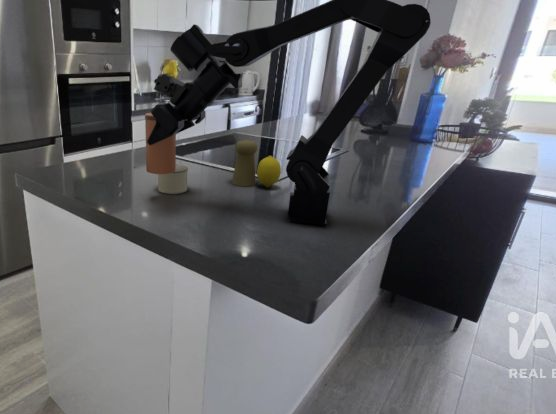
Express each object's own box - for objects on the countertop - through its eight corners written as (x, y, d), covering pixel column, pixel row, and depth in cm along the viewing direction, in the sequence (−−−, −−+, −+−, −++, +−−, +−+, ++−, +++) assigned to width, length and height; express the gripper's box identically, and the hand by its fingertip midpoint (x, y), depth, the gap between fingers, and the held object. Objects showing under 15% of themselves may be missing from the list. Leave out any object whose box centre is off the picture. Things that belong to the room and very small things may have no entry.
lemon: (255, 189, 94) (258, 157, 91) (256, 183, 99) (258, 152, 96) (279, 191, 92) (282, 158, 89) (278, 184, 97) (282, 153, 94)
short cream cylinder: (190, 186, 97) (191, 165, 95) (182, 195, 90) (183, 172, 89) (163, 183, 99) (163, 163, 97) (153, 192, 93) (153, 170, 91)
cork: (258, 186, 96) (262, 142, 92) (234, 186, 96) (237, 143, 93) (252, 179, 102) (256, 138, 98) (229, 179, 102) (232, 138, 98)
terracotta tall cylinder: (179, 167, 88) (179, 112, 83) (171, 175, 82) (171, 115, 78) (151, 165, 90) (151, 111, 86) (141, 173, 84) (140, 115, 80)
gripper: (193, 59, 84) (148, 109, 93) (160, 58, 68) (110, 119, 77) (226, 96, 84) (179, 143, 92) (201, 104, 68) (146, 160, 76)
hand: (155, 140), depth 84 cm, fingers closed on terracotta tall cylinder, 6 cm apart
